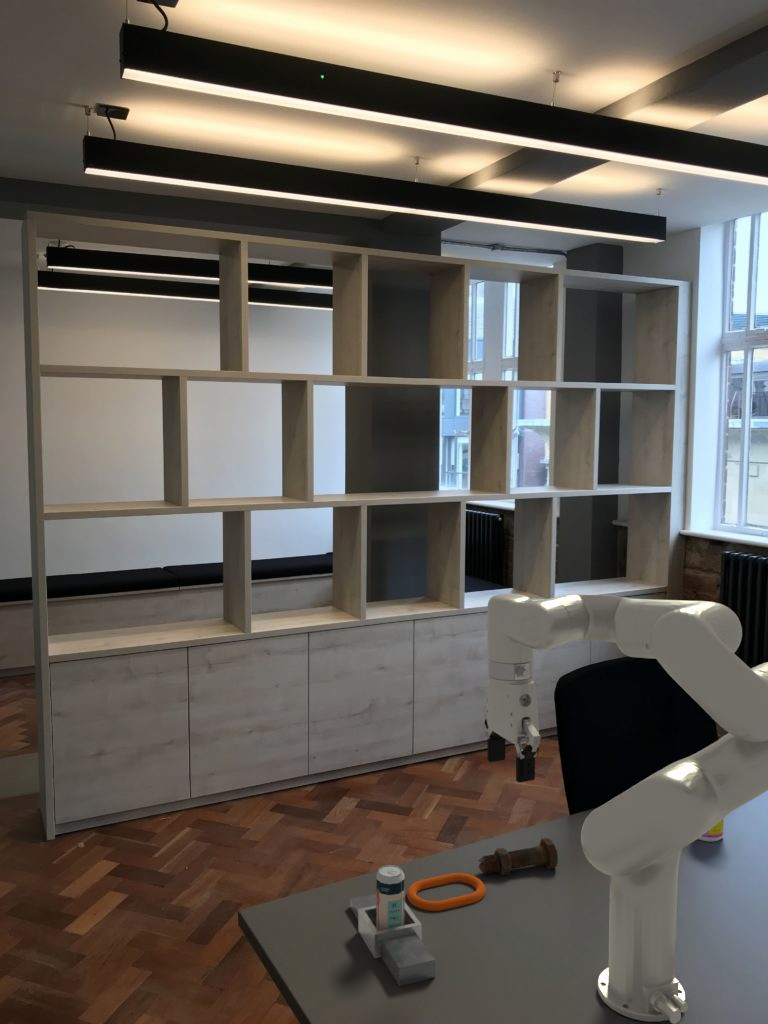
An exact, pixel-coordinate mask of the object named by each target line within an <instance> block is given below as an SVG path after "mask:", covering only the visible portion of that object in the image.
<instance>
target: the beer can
mask: <svg viewBox="0 0 768 1024" xmlns="http://www.w3.org/2000/svg"><path fill="white" fill-rule="evenodd" d="M375 878H376V880H375V882H376V885H375V887H376V888H375V889H376V893H375V894H376V919H377V931H380V930H385V929H390V928H394V927H399V926H404V902H405V878H406V877H405V873H404V871H403V869H402V868H401V867H399V865H393V864H387V865H383V866H382V867H380V868H378V871H377V873H376V875H375Z"/></svg>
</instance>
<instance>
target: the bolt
mask: <svg viewBox="0 0 768 1024" xmlns="http://www.w3.org/2000/svg"><path fill="white" fill-rule="evenodd" d="M558 857H559V854H558V850H557V848H556V845H555V843H554V841H553V840H552V839H550V838H549V837H541V840H540V842H539V845H536V846H533V847H532V846H531V847H529V848H523V849H522V848H521V849H515V850H511V851H508V850H507V849H506V848H504V847H498V848H496V849H495V851H494V853H493V854H489V855H483V856H481V858H479V859H478V862H479V864H478V868H479V870H480V872H481V873H483V874H484V875H486V874H487V875H488V874H493V873H498V872H499V873H500V874H502V875H501V876H506V875H505V874H509V875H510V873H511V872H512V870H514V869H519V868H525V867H527V868H528V867H530V866H535V865H539V866H540V865H544V864H545V865H546V866H547V867H548V868H549V869H548V868H547V867H546V866H545V865H544V866H545V867H546V868H547V869H548V870H553V869H552V868H554V869H556V867H557V866H558V863H559V862H558V861H559V858H558ZM499 873H498V874H499ZM500 874H499V875H500Z"/></svg>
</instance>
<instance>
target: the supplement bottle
mask: <svg viewBox="0 0 768 1024" xmlns="http://www.w3.org/2000/svg"><path fill="white" fill-rule="evenodd" d="M724 819H725V817H724V818H723V819H722V820H721V821H720V822H719V823H718V824H717V825H715V826H714V827H713V828H711V829H710V830H709V831H707V832H706V833H705V834H703V835H702V836H701V837H699V838H698V839H697V840H700V841H704V842H711V843H714V842H718V841H720V840H721V839H723V836H724V823H725V822H724Z"/></svg>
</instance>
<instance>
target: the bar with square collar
mask: <svg viewBox="0 0 768 1024" xmlns="http://www.w3.org/2000/svg"><path fill="white" fill-rule="evenodd" d="M349 907H350V910H351V911H352V912H353V914H354V916H355V917H356V919H357V922H358V927H357V928H358V933H359V935H360V936H361V938H362V939H363V941H364V944H366V946H367V948H368V950H369V952H370V953H371V956H372V957H373V958H374V959H378V958H381V960H383V963H384V964H385V966H386V967H387V968H388V971H389V973H390V974H391V975H392V977H393V978H394V980H395V982H396V983H397V984H398V986H399V987H402V986H406V985H411V984H414V983H418V982H422V981H427V980H432V979H436V958H435V957H434V956H433V955H432V952H431V951H430V950H429V949H428V947H427V945H425V943H424V942H423V933H422V932H423V927H422V926H423V924H422V923H421V921H420V920H419V919H418V918H417V916H416V915H415V913H414V912H413V911H412V909H411V908H410V907H409V906H408V904H407V903H406V902H405V901H404V926H399V927H394V928H390V929H385V930H380V931H377V919H376V893H372V894H368V895H367V894H366V895H362V896H357V897H351V898H349Z"/></svg>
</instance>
